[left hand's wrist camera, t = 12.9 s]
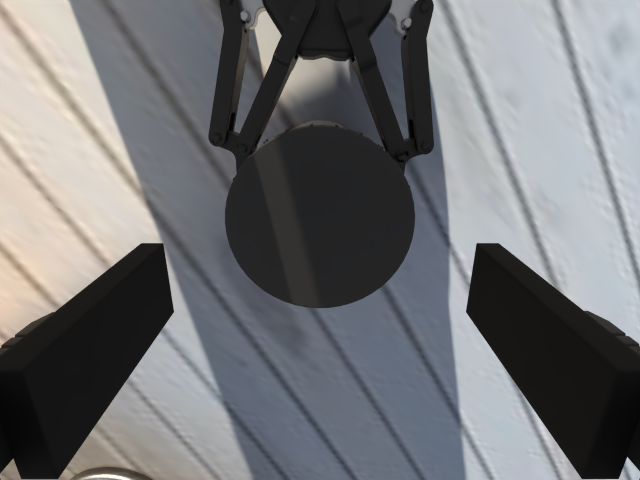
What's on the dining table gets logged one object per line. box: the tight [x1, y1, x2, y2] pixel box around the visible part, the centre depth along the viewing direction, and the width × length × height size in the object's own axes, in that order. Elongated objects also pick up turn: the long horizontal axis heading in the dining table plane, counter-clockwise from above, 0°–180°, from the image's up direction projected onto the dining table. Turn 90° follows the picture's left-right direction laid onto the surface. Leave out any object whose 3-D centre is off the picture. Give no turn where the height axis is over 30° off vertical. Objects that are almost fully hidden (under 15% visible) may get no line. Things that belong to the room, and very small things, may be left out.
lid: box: [225, 123, 415, 308], centre depth 20 cm, size 10×10×2 cm
